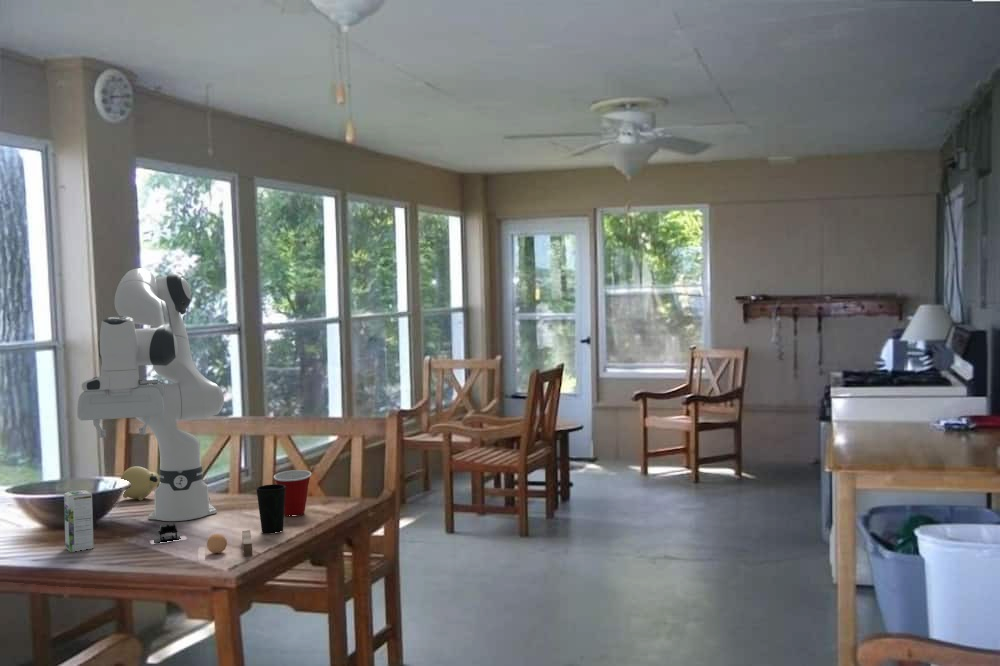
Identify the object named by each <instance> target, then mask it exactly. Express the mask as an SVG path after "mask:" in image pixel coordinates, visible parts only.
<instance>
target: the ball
mask: <svg viewBox="0 0 1000 666" xmlns="http://www.w3.org/2000/svg"><path fill="white" fill-rule="evenodd" d="M227 546H228V541H227V538H226V536H224V535H223V534H221V533H214V534H212V535H210V536H209V537H208V539H207V541H206V549H207V550H208V551H209V552H210V553H212V554H215V553H218V554H220V553H223V552H224V551H225V550H226V548H227Z"/></svg>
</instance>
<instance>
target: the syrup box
mask: <svg viewBox="0 0 1000 666" xmlns="http://www.w3.org/2000/svg"><path fill="white" fill-rule="evenodd" d="M63 501H64V503H63V504H64V506H63V508H64V509H63V510H64V536H65V537H64V540H65V544H64V545H65V549H66V550H68V552H69V553H75V551H77V552H81V551H80V550H82V551H86V549H88V550H93V549H94V548H95V547H94V545H95V544H94V520H93V519H94V516H93V513H94V512H93V511H94V510H93V493H92V492H90V491H88V490H85V489H84V490H82V489H81V490H71V491H67V492H65V493H64V494H63ZM92 548H93V549H92Z"/></svg>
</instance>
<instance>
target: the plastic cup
mask: <svg viewBox="0 0 1000 666" xmlns="http://www.w3.org/2000/svg"><path fill="white" fill-rule="evenodd" d="M311 476H312V472H311V471H309V470H306V469H305V470H304V469H303V470H302V469H293V470H287V471H281V472H278V473H276V474H274V475H273V479H274V480H275V482H276V483H275V484H279V485H285V486H286V490H285V507H284V516H285V515H288V516H287V517H290V516H292V515H300V516H302V515H301V514H303V515H304V514H305V511H306V504H307V497H308V490H309V484H310V480H311V479H310V478H311ZM289 515H290V516H289ZM292 517H293V516H292Z"/></svg>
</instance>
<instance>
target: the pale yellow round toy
mask: <svg viewBox="0 0 1000 666" xmlns="http://www.w3.org/2000/svg"><path fill="white" fill-rule="evenodd" d="M120 479H124V480H127V481H129V482H130V483H131V487H130V488H128V489H127V490H126V491H125V492H124V494H123V493H122V497H123V498H124V499H126V498H130V499H136V500H138V501H143V500H144V498H147V497H148V496H149V495H151V493H152V491H153V490H155V489H156V488H157V487H158V486H159V485H160V483H161V482H160V478H159V473H158V472H157V471H150V470H149V469H147V468H145V467H142V466H138V465H137V466H136V465H135V466H130V467H128V468H127V469H126V470H125V471H124V472H123V473H122V475H121V477H120Z"/></svg>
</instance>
